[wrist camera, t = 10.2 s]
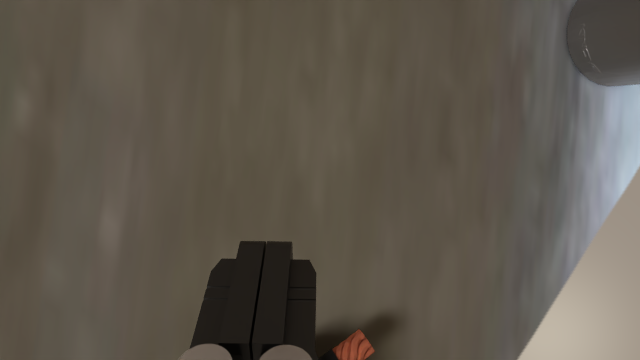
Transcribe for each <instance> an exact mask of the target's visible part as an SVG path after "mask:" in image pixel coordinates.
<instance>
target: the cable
mask: <svg viewBox="0 0 640 360" xmlns="http://www.w3.org/2000/svg"><path fill="white" fill-rule="evenodd" d="M374 352H375V351H374V349H373V348H372V346H371V344H370V343H369V341H368V340H367V339H366V337H365V336H364V334H363V333H362V332H361V331H360V330H359V329H358V330H357V331H356V332H355V333H353V334H352V335H350V336H349V337H348V338H347V339H346V340H344V341H343V342H341V343H340V344H339V346H335V347H334V348H333V349H331V350H329V351H328V352H327V353H325V354H324V355H323V356H321V357H320V358H319V360H365V359H366V358H367V357H369V356H370V355H371V354H372V353H374Z"/></svg>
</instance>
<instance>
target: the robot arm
mask: <svg viewBox="0 0 640 360" xmlns="http://www.w3.org/2000/svg"><path fill="white" fill-rule="evenodd" d="M567 44H568V48H569V52H570V55H571V57H572V60H573V62H574V64H575V65H576V67H577V68H578V69H579V71H580V72H581V73H582V74H583V75H584V76H585V77H587V78H588V79H589V80H591V81H593V82H595V83H597V84H600V85H605V86H624V85H637V84H640V0H577V2H576V3H575V5H574V7H573V9H572V12H571V15H570V18H569V21H568V28H567ZM315 320H316V272H315V270H314V268H313V266H312V264H311V262H310V260H293V253H292V242H275V241H268V242H267V245H266V242H265V241H241V242H240V244H239V249H238V253H237V258H236V259H221V260H220V261H219V263H218V264H217V265H216V266H215V267H214V268H213V270H212V271H211V273H210V277H209V281H208V284H207V289H206V292H205V295H204V301H203V303H202V306H201V310H200V314H199V317H198V321H197V324H196V328H195V332H194V335H193V339H192V343H191V346H190V348H189V350H187V351H186V352H185V353H184V354H183V355H182V356H181V357H180V358H179V359H178V360H319V359H318V357H317V355H316V351H315Z"/></svg>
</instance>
